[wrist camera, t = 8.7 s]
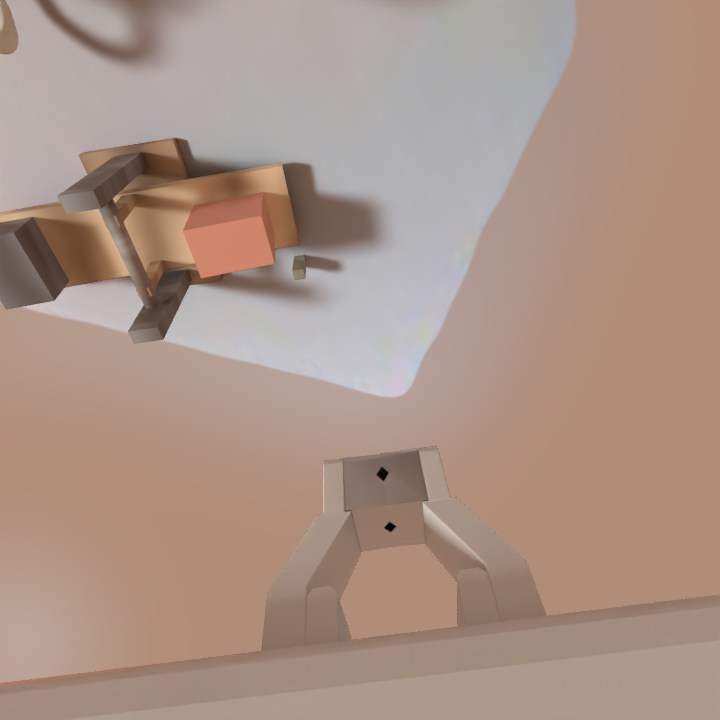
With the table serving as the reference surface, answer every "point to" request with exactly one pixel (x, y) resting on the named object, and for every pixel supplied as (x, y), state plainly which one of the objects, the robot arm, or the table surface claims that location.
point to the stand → (135, 171)
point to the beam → (124, 235)
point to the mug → (7, 30)
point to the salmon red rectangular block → (230, 235)
